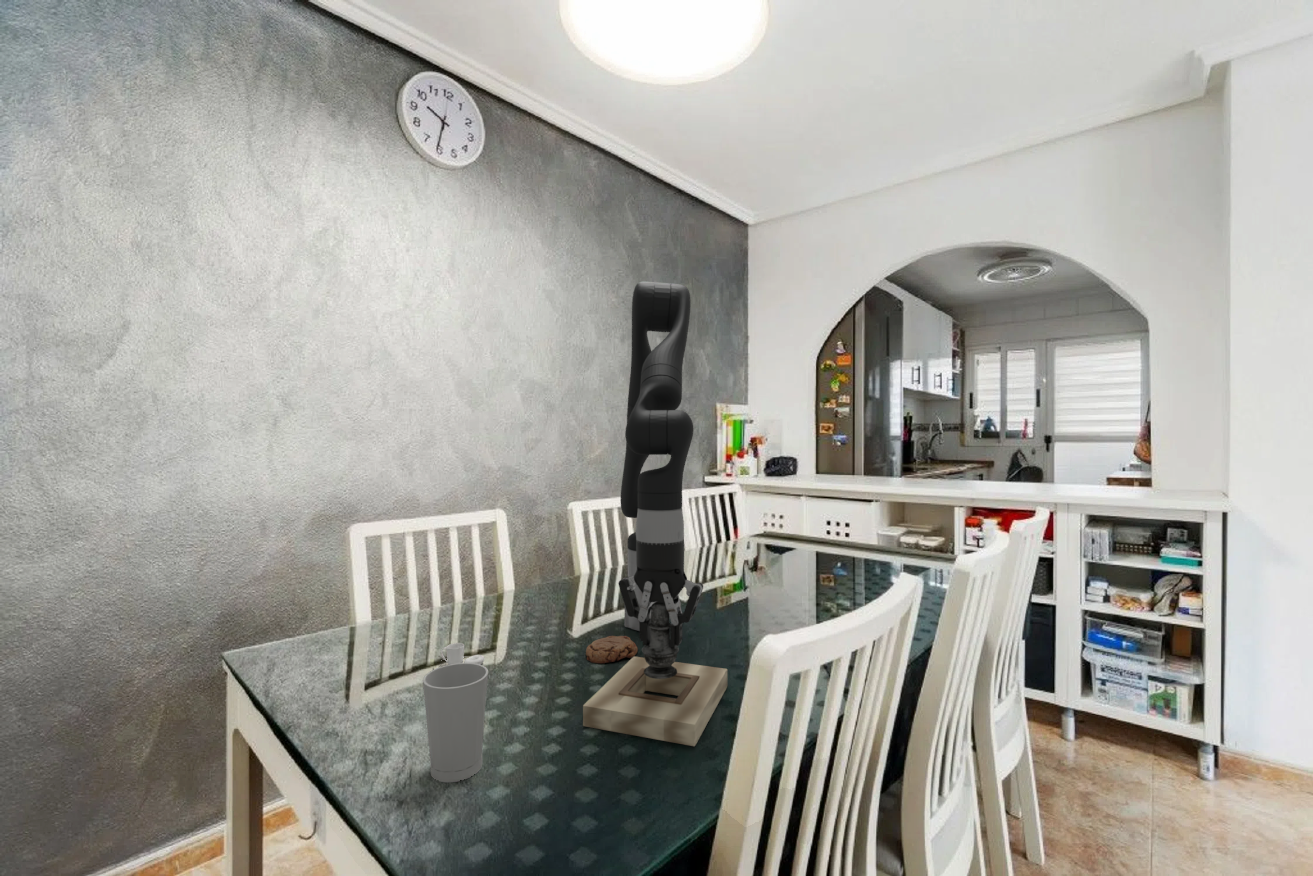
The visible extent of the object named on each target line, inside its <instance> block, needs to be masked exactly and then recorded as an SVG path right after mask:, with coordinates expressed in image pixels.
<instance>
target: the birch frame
mask: <svg viewBox="0 0 1313 876" xmlns="http://www.w3.org/2000/svg"><path fill="white" fill-rule="evenodd" d="M648 666H650V665H649V664H648V663H647V662H646V660H645V658H644V657H642V656H641V657H640V656H636V655H635V656H634V657H631V658H630V660H628V661H627V662H626V663H625V664H624V665H623V666H622V667H621V668H620V669H619V670H618V671H617V672H616V673H615V674H614V675H613V676H612V677H611V678H610V679H609V680H608V681H606V683H605V684H604V685H602V686H601V688H600V689H598V690H597V692H596V693H594V694H593V695H592V696H591V697H590V698H589V699H588V700H587V701H586V702H585V703H584V704H583V705H582V726H583V727H588V728H591V729H592V728H594V729H597V730H603V731H609V732H614V733H620V734H626V735H631V736H637V737H641V738H648V739H653V740H658V741H664V742H667V743H668V742H669V743H675V744H680V745H685V746H691V747H695V746H697V743H698V741H699V740H700V738H701V736H702V735H703V732H704V730H705V728H707V727H706V726H707V724H708V722H709V721H710V719H711V718H712V716H713V713H714V712H715V710H716V708H717V707H718V706H719V705H718V704H719V703H720V701H721V699H722V698H723V696H724V694H725V692H726V690H727V688H728V669H727V668H722V667H715V666H710V665H709V666H708V665H699V664H693V663H687V662H686V663H685V662H680V661H679V662H678V661H675V662H674V663H673V664H672V665H671V666H673V667H675V668H676V669H677V674H676V675H675V676H673V677H671V678H666V679H655V678H650V677H648V676H646V675H645V674H644V670H645V668H647V667H648ZM645 692H652V693H659V694H665V695H672V696H677V698H674V697H667V696H661V695H656V694H649V693H645Z"/></svg>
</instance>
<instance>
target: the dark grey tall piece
mask: <svg viewBox="0 0 1313 876" xmlns="http://www.w3.org/2000/svg"><path fill="white" fill-rule="evenodd" d="M671 624H672V623H670V618H669V612H668V611H667V609H666V605H665V603H662V602H659V601H657V602H655V603H653V604H652V606H651V623H650V624H649V627H650V628H651V640H650V644H649V645H648V646H646V645H643V647H642V648H641V652H642V654H643V658H645V660H646V662H647V663H648V664H649V665H650V666H648V667H647V668H645V670H644V674H645V675H646V676H648V677H650V678H655V679H666V678H671V677H673V676H675V675H676V674H677V669H676V668H675V667H673V666H671V665H672V664H673V663H674V662H676V660H677V657H678V654H679V652H680V647H679V646H678V647H677V648H676V649H671V648H670V625H671Z"/></svg>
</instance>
